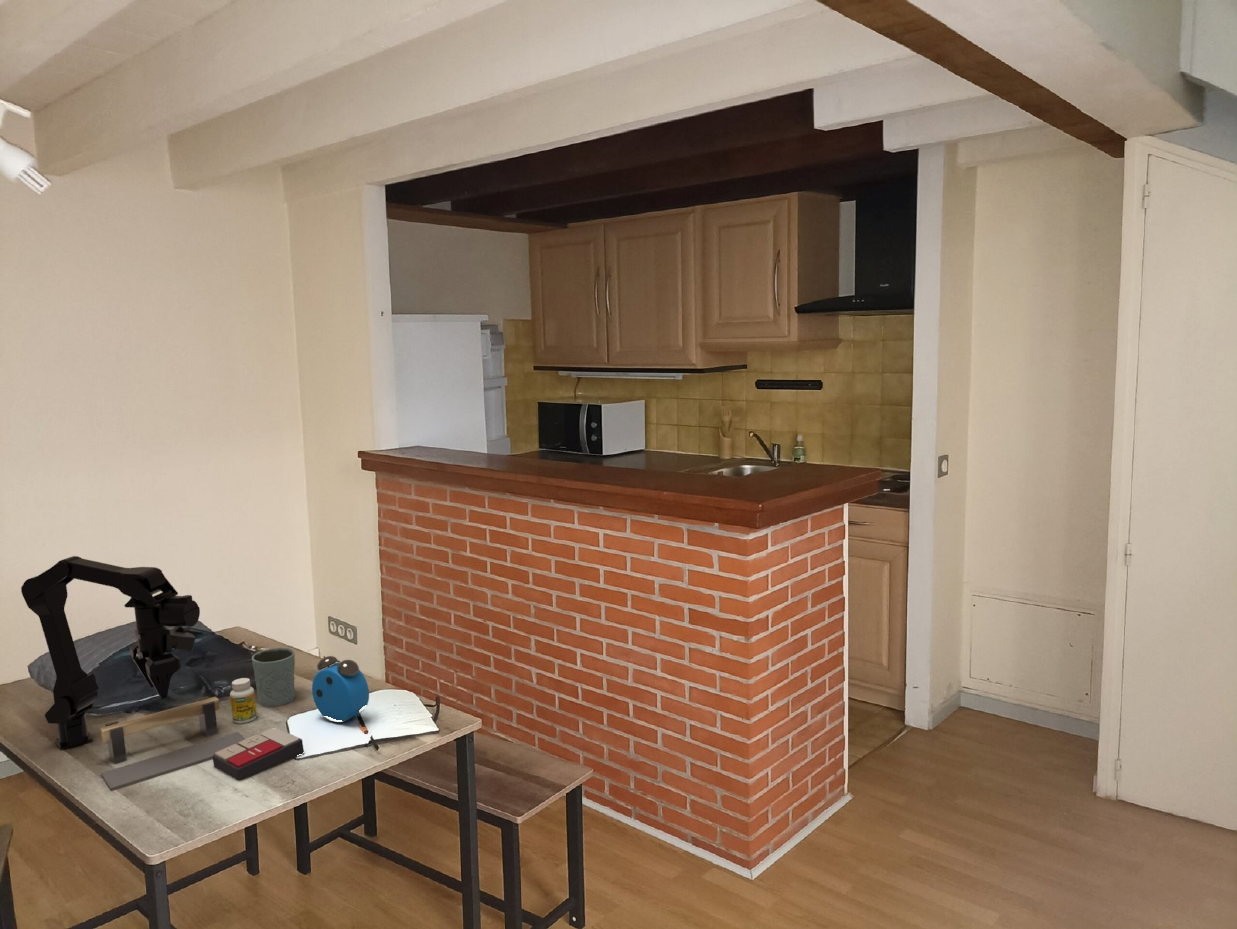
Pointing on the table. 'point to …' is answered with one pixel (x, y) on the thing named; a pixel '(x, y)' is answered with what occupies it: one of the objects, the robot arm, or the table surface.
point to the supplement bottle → (243, 701)
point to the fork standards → (117, 736)
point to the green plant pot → (274, 676)
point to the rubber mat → (168, 762)
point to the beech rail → (159, 718)
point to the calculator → (258, 753)
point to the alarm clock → (339, 688)
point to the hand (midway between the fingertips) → (158, 692)
